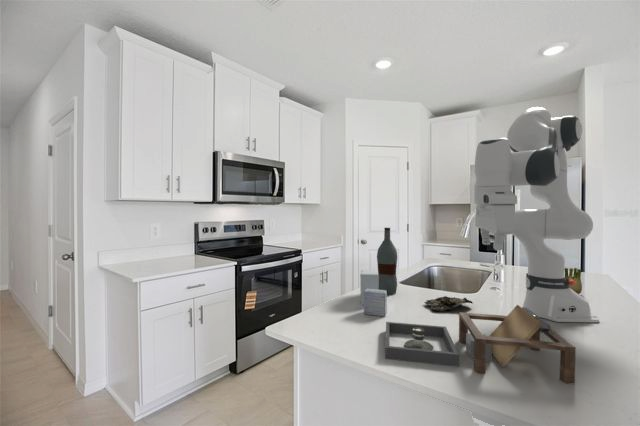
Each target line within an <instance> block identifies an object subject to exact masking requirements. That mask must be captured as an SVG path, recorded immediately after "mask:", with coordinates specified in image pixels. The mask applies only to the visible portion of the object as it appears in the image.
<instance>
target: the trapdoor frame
mask: <svg viewBox="0 0 640 426" xmlns="http://www.w3.org/2000/svg"><path fill="white" fill-rule="evenodd" d="M458 314H459V316H458V341H459V343H460V344H466V333H471V335H472V337H473V338H474V359H473V370H474V372H475V373H476V374H481V375H485V374H486V361H485V346H486V344H495V345H506V346H517V347H521V348H527V349H528V348H529V349H530V350H531V351H540V349H541V350H550V351H560V352H559V353H560V354H559V357H560V358H559V359H560V360H559V379H560V380H561V381H562V382H563V383H564V382H565V383H564V384H569V383H576V353H577V352H576V351H577V350H576V346H574V345H573V344H572V343H570V342H569V341H568V340H566V339H565V338H563V336H561V335H560V334H559V333H557V332H556V331H555V330H553V329H552V328H551V327H550V331H549V332H547V333H543V334H544V335H546V336H547V337H548V338H549V339H550V340H551V341H544V340H541V332H540V331H539V330H537V331H536V332H535V333H534V334H533V335H532V337H531V338H530V339H529V340H523V339H512V338H501V337H489V336H490V335H486V336H483V335H482V334H483V333H482V332H481V331H480V330H479V328H478V327H477V325H476V324H475V322H473V320H480V321H481V320H482V321H494V322H495V321H496V322H502V321H503V320H504V319H505V318H506V317H507V316H508V315H501V314H499V315H498V314H488V313H486V314H485V313H473V312H458Z"/></svg>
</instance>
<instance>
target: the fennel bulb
mask: <svg viewBox="0 0 640 426" xmlns="http://www.w3.org/2000/svg"><path fill="white" fill-rule="evenodd" d="M581 276H582V269H581V268H577V267H570V268H568V267H564V277H565V278H567V279H569V280H574V281H576V282H577V285H576V286H571V285H569V286H570V288H571V289H572V290H573V291H575V292H576V293H577V294H579V295H580V294H581V293H582V291H583V290H582V289H583V286H582V284H583V283H582V277H581Z"/></svg>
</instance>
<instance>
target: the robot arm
mask: <svg viewBox="0 0 640 426" xmlns="http://www.w3.org/2000/svg"><path fill="white" fill-rule="evenodd" d="M507 131H508V132H507V134H506V135H507V136H506V137H507V138H506V137H499V138H493V139H486V140H481V141H480V142H478V144H477V147H476V151H475V158H474V175H475V177H476V178H475V182H474V199H473V200H474V202H473V203H474V204H476V207H475V218H474V224H475V227H476V228H477V229H480V234H481V239H482V242H481V243H482V245H484V246H489V245H491V238H490V232H491V233H493V237H494V240H493V241H494V242H492V243H493V244H492V248H493V250H495V251H503V249H504V248H503V245H504V241H505V238H506V235H512V236H514V237H515V238H516V239H517V240H518V241H519V242H520V243H521V244H522V246H523V247H524V250H525V253H526V258H527V259H526V260H527V262H526V263H527V273H526V274H525V288H526V291H525V297H524V301H523V304H522V307H521V308H523V307H525V308H528V309H529V310H530V311H532V312H533V313H534V314H536V315H537V316H538V317H540V318H541V319H542V318H543V319H546V320H549V321H553V322H556V323H557V322H558V323H600V318H599V317H598V316H597V315H595V314H594V313H593V312H591V307H590V304H589V302H588V301H587V299H585V298H584V297H583V296H581V295H580V294H577V293H576V292H575V291H573V290H572V289H571V288H570V286H569V285H571V286H576V285H577V282H576V281H574V280H569V279H567V278H565V264H566V263H565V260H566V259H565V257H564V255H563V254H562V253H561V252H560V251H559V250H556V249H554V248H553V247H550V246H548V245H547V244H546V243H545V241H544V240H545V239H546V240H547V239H549V240H550V239H551V240H561V241H562V240H565V241H570V240H581V239H586V238H587V237H589V235H590V234H591V232H592V231H593V230H594V223H593V219H592V217H591V216H590V215H589V213H587V212H586V211H584V210H582V209H581V208H580V207H578V206H577V205H576V204H575V203H574V202H573V200H572V199H571V197H570V194H569V191H568V162H567V156H566V152H569V151H571V149H572V147H574V146H576V144H577V143H578V142H579V141H580V140H581V136H582V134H583V125H582V123H581V120H580V119H579V118H578V117H577V116H575V115H564V116H562V117H554V118H553V117H552V115H551V113H550V111H549V110H548V109H546V108H544V107H539V106H536V107H531V108H528V109H526V110H525V111H524V112H522V113H520V114H519V116H517V118H516V119H515V120H514V122H512V123H511V125H510V127H509V128H508V130H507ZM511 151H512V152H511ZM565 151H566V152H565ZM513 186H514V187H516V186H517V187H518V186H519V187H520V186H529V187H530V188H529V189H530V194H531V196H532V197H534V198H535V199H537V200H539V201H542V202H545V203H547V204H548V205H549V208H545V209H544V208H543V209H541V208H537V209H536V208H525V209H518V210H516V207H515V205H518V196H517V194H515V193H514V192H513V190H512V187H513Z"/></svg>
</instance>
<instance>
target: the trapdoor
mask: <svg viewBox="0 0 640 426" xmlns="http://www.w3.org/2000/svg"><path fill="white" fill-rule="evenodd" d="M506 316H507V317H506V318H505V319H504V320H503V321H500V322H501V323H499V324H498V325H497V327H495V329H494V330H493V331H492V333H490V335H488V336H489V337H501V338H512V339H523V340H529V339H530V338H531V337H532V335H533V334H534V333H535V332H536V331H537V330H539V331H540V333H543V334H544V333H547V332H549V331H550V328H551V326H550V325H551V324H549V323H548V322H546V320H544V319H542V317H538V316H537V315H536V314H534V313H533V312H532V311H530V310H529V309H528V308H525V307H523V308H522V307H521V306H520V305H518V304H516V306H515V307H513V309H512V310H511V311H510V312H509V313H508V315H506ZM521 348H522V347H517V346H506V345H495V344H492V354H493V356H494V358H495V359H496V360H497V362H498V363H499V364H500V366H502V367H503V368H504V367H505V366H506V365H507V364H508V363H509V362H510V361H511V359H513V358H514V356H516V354H517V353H518V352H519V351H520V350H521Z"/></svg>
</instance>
